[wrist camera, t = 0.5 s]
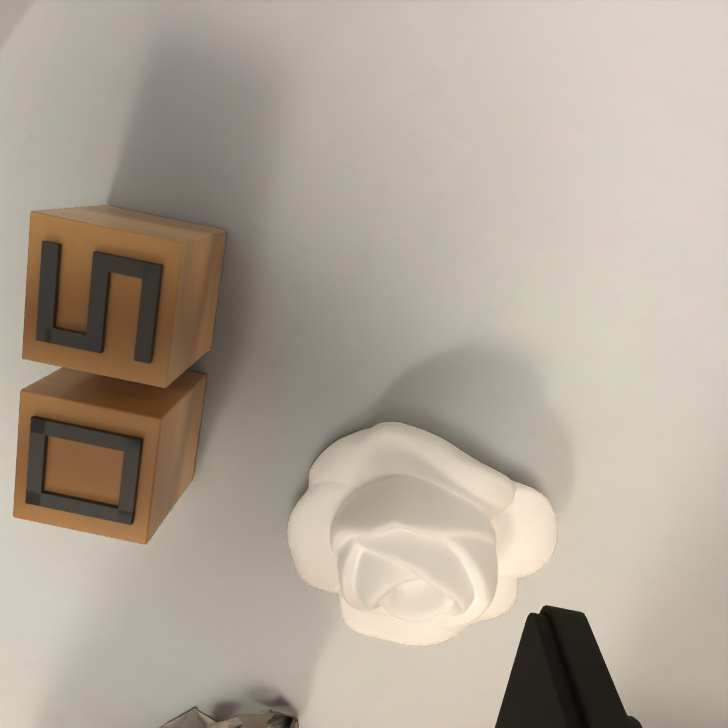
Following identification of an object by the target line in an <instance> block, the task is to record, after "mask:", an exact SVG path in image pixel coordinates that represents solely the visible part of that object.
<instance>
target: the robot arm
mask: <svg viewBox="0 0 728 728" xmlns="http://www.w3.org/2000/svg"><path fill="white" fill-rule="evenodd" d="M495 728H642V726H641V724H640V723H639V721H638V720H636V719H635V718H634V717H633V716H628V715H627V714H626V712H625V710H624V707H623V705H622V702H621V700H620V697H619V695H618V693H617V690H616V688H615V685H614V683H613V681H612V678H611V676H610V673H609V671H608V668H607V666H606V664H605V661H604V659H603V656H602V654H601V652H600V649H599V647H598V644H597V642H596V639H595V637H594V635H593V632H592V630H591V627H590V625H589V623H588V620H587V618H586V616H585V614H584V613H582V612H579V611H573V610H568V609H563V608H558V607H553V606H548V605H546V606H544V607H543V608H542V610H541V611H540V614H537V613H530V614H529V615H528V617H527V620H526V623H525V626H524V630H523V633H522V637H521V640H520V643H519V647H518V650H517V654H516V657H515V661H514V664H513V667H512V671H511V674H510V678H509V681H508V685H507V688H506V691H505V695H504V698H503V702H502V705H501V709H500V712H499V715H498V719H497V722H496V726H495Z"/></svg>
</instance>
